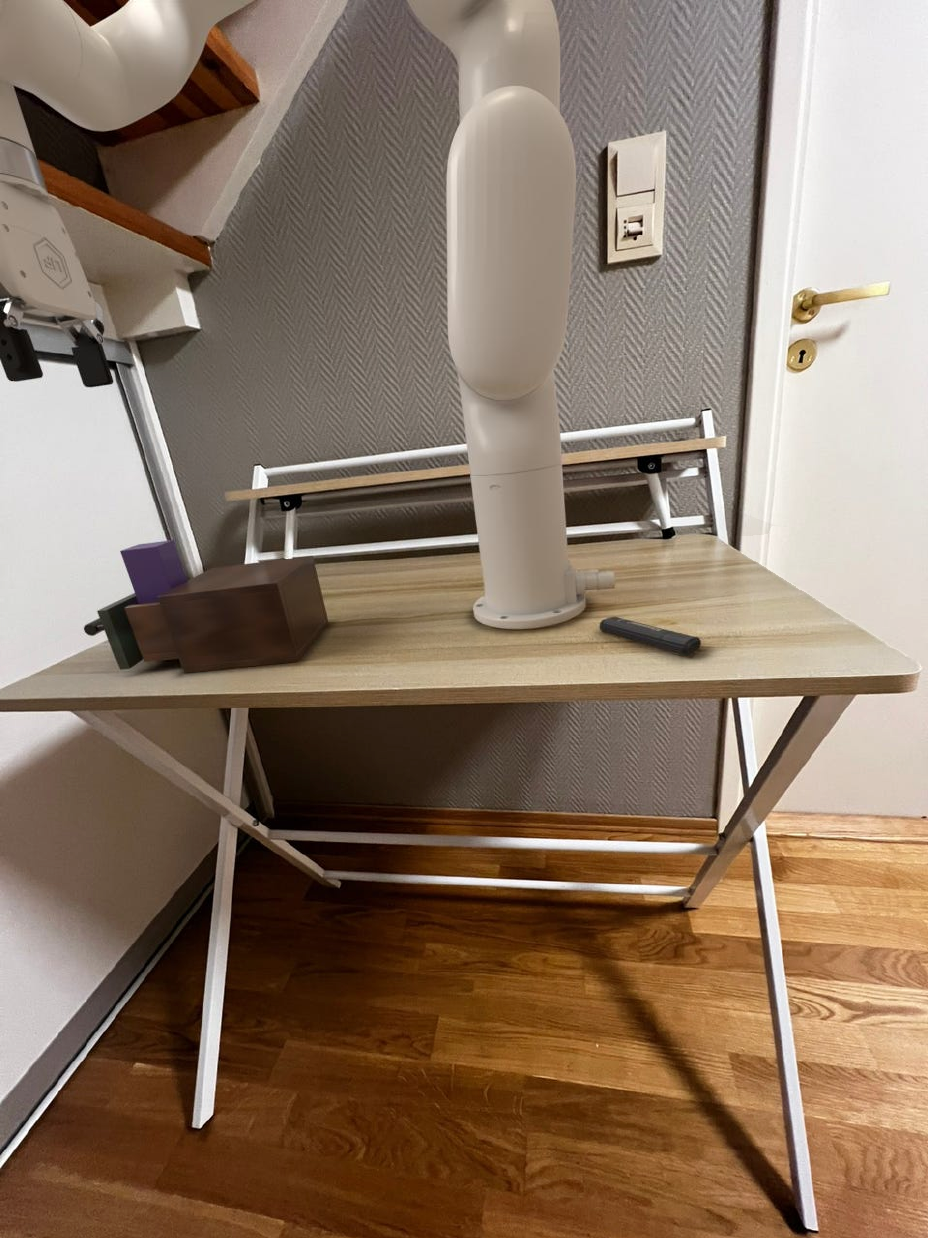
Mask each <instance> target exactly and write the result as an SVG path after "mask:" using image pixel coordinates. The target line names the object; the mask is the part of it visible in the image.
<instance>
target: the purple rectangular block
mask: <svg viewBox="0 0 928 1238" xmlns="http://www.w3.org/2000/svg"><path fill="white" fill-rule="evenodd" d="M119 553H120V556H121V558H122V561H123V564H124V566H125V569H126V573H127V576H128V577H129V580H130V584H131V586H132V588H133V591H134V592H133V593H135V594H136V597H137V600H138V603H139V604H146V603H155V602H159V600H158V596H160V595H162V594H163V593H165V592H167V591H169V590H171V589H173V588H175V587H177V586H179V585H181V584H183V583H184V582H186V581H188V580H187V577H186V573H185V571H184V567H183V564H182V560H181V558H180V555H179V552H178V549H177V546H176V542H175V540H174V539H169V540H162V541H153V542H147V543H140V544H139V543H138V544H136V545H133V546H130V547H128V548H125V549H124V548H123V549H121V550H120V551H119Z"/></svg>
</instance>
